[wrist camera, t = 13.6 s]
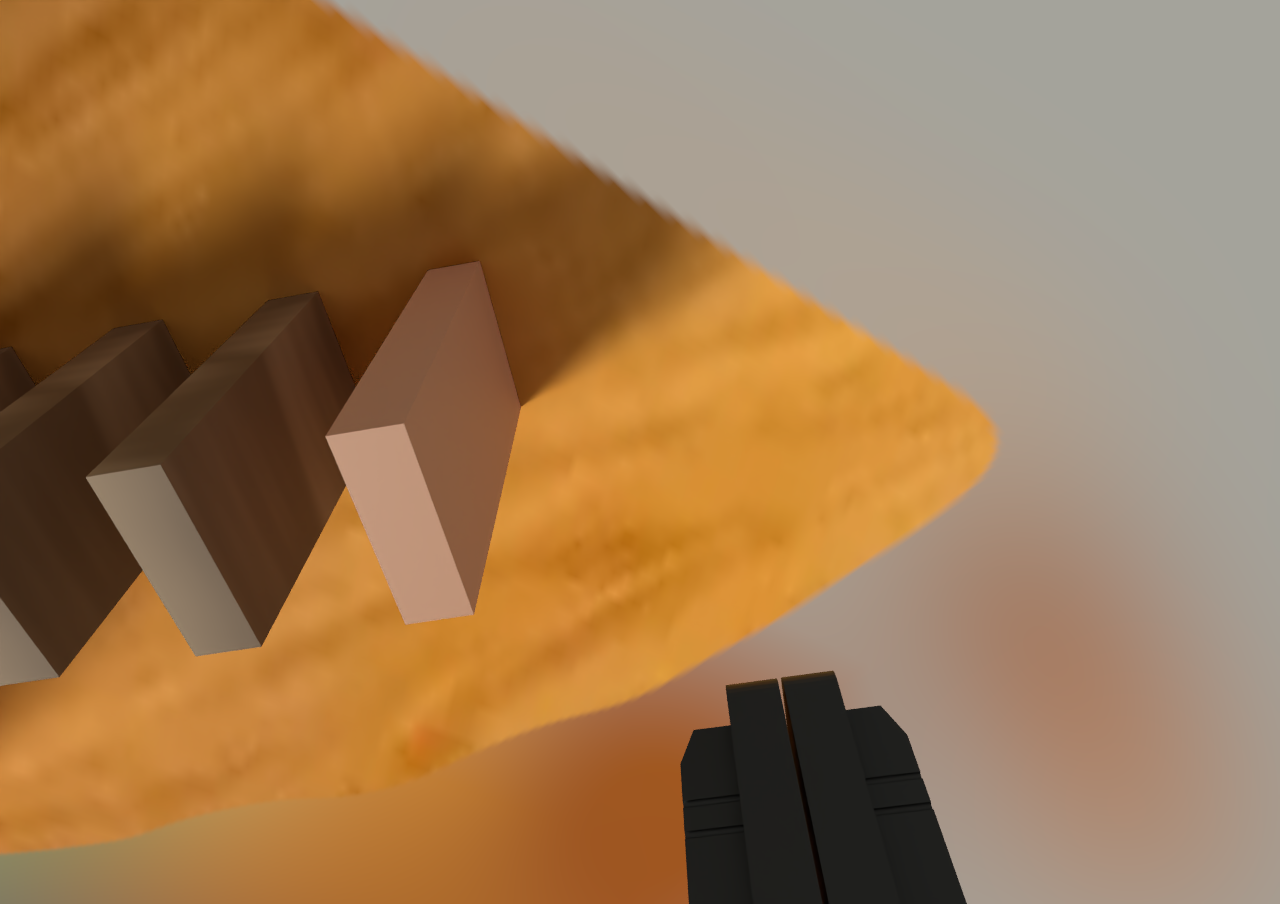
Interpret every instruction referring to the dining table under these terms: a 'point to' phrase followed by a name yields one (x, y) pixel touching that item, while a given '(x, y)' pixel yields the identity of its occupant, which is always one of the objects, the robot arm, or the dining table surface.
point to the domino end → (432, 444)
